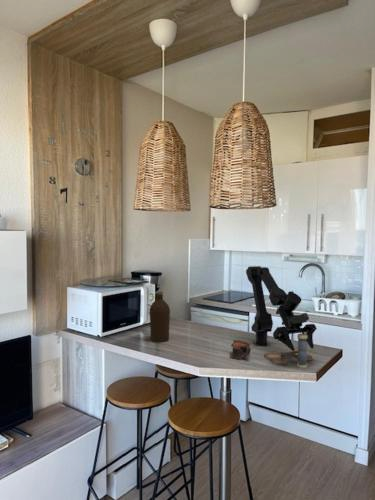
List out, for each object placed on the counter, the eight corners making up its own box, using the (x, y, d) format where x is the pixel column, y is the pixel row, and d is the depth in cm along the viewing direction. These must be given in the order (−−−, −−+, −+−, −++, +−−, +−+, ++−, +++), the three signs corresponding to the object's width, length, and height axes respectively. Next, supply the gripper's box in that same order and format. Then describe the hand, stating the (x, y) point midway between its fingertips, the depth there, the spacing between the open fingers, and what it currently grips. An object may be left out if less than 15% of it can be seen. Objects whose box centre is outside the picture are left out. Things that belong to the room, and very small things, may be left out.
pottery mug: (224, 357, 166) (228, 339, 169) (240, 363, 169) (243, 345, 173) (241, 357, 156) (245, 338, 159) (257, 364, 159) (261, 345, 163)
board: (264, 357, 164) (264, 347, 164) (298, 352, 170) (298, 343, 169) (276, 364, 154) (276, 354, 154) (312, 359, 160) (312, 349, 160)
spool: (295, 365, 153) (295, 334, 152) (301, 363, 155) (301, 333, 155) (302, 368, 150) (303, 337, 149) (309, 366, 152) (309, 335, 151)
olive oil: (157, 344, 184) (156, 294, 183) (145, 339, 192) (145, 291, 191) (174, 340, 190) (174, 292, 189) (162, 335, 199) (162, 289, 197)
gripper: (276, 308, 153) (292, 341, 143) (314, 305, 159) (331, 337, 149) (266, 322, 161) (280, 355, 151) (302, 319, 167) (318, 350, 157)
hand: (303, 349), depth 151 cm, fingers open, 9 cm apart
